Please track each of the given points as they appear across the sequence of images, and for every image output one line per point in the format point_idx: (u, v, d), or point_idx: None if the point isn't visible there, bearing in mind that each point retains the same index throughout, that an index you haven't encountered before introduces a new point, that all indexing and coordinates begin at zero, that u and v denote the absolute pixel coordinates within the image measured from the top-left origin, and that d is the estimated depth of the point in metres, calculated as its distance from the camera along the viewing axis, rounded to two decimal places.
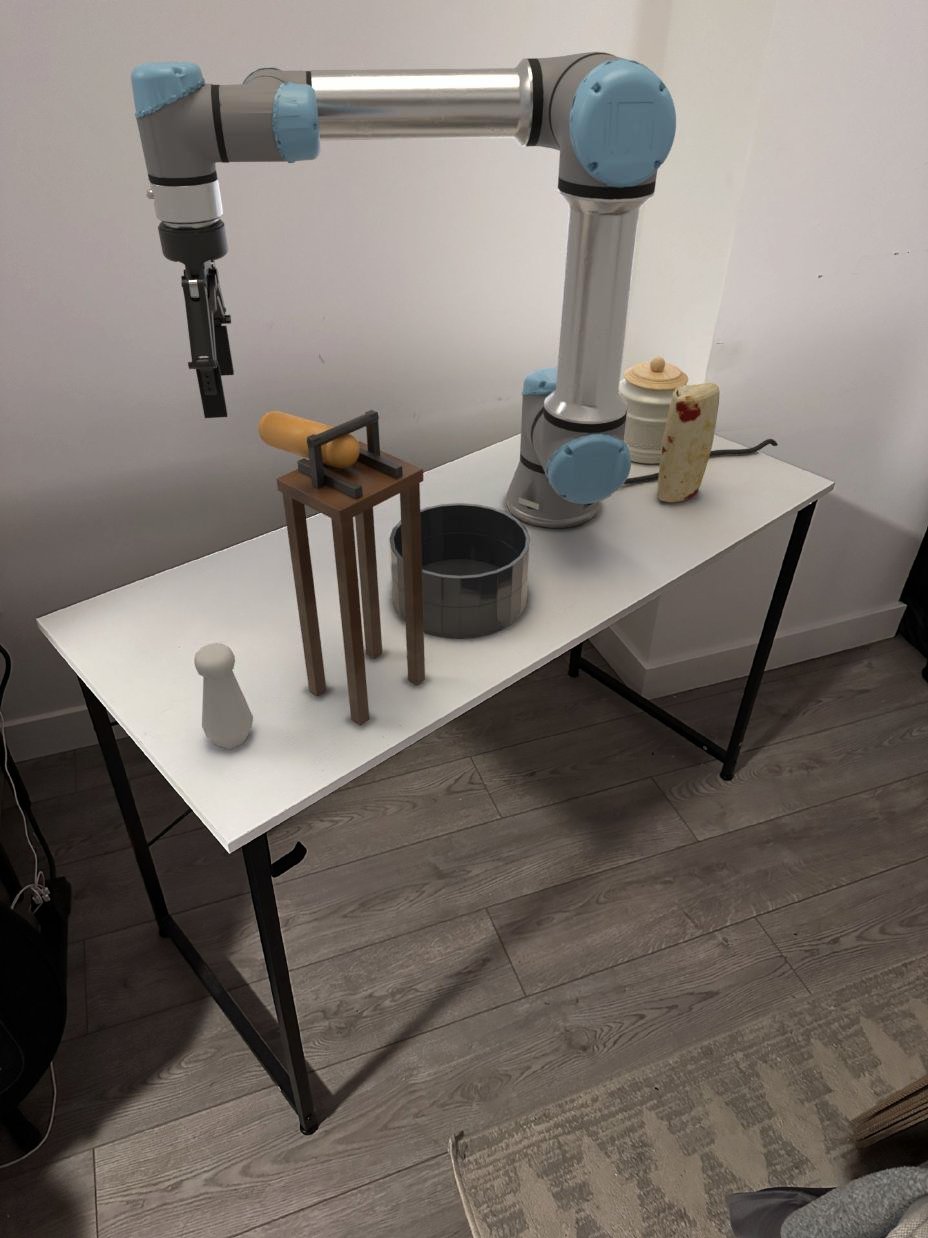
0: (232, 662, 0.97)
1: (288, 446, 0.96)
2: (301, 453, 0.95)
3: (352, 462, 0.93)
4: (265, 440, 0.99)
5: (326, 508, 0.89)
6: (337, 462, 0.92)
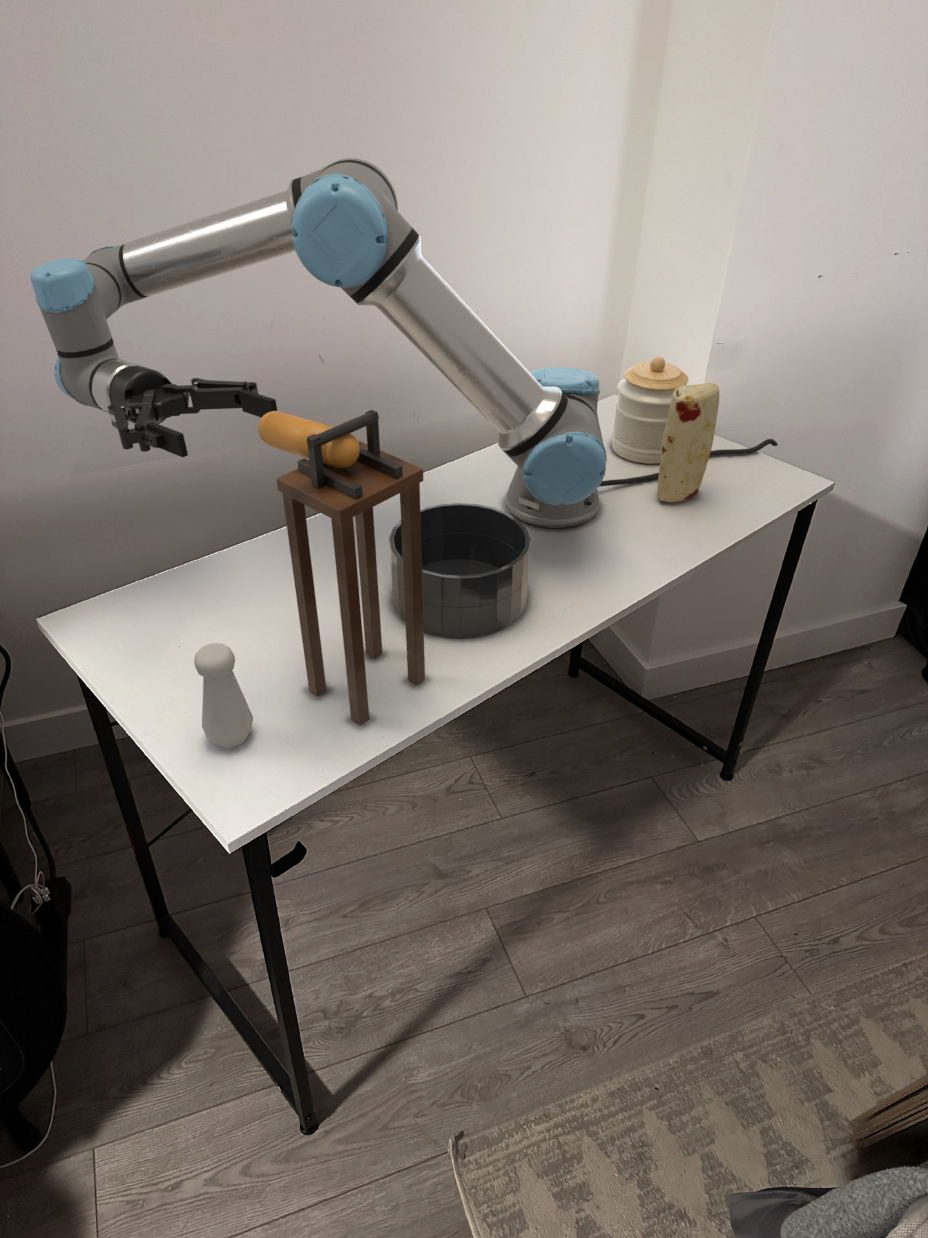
0: (232, 662, 0.97)
1: (288, 446, 0.96)
2: (301, 453, 0.95)
3: (352, 462, 0.93)
4: (265, 440, 0.99)
5: (326, 508, 0.89)
6: (337, 462, 0.92)
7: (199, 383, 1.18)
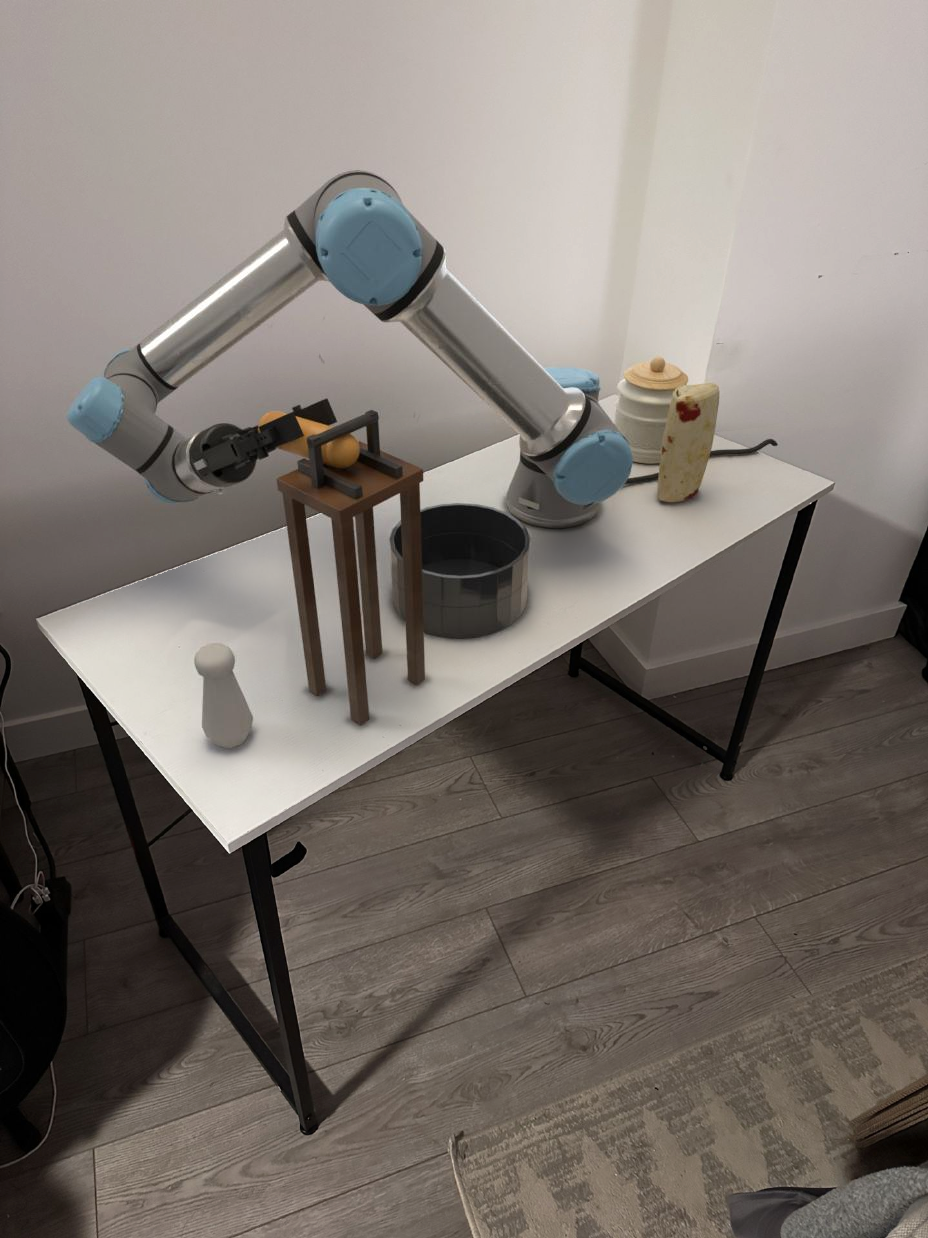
0: (232, 662, 0.97)
1: (288, 446, 0.96)
2: (301, 453, 0.95)
3: (352, 462, 0.93)
4: None
5: (326, 508, 0.89)
6: (337, 462, 0.92)
7: None
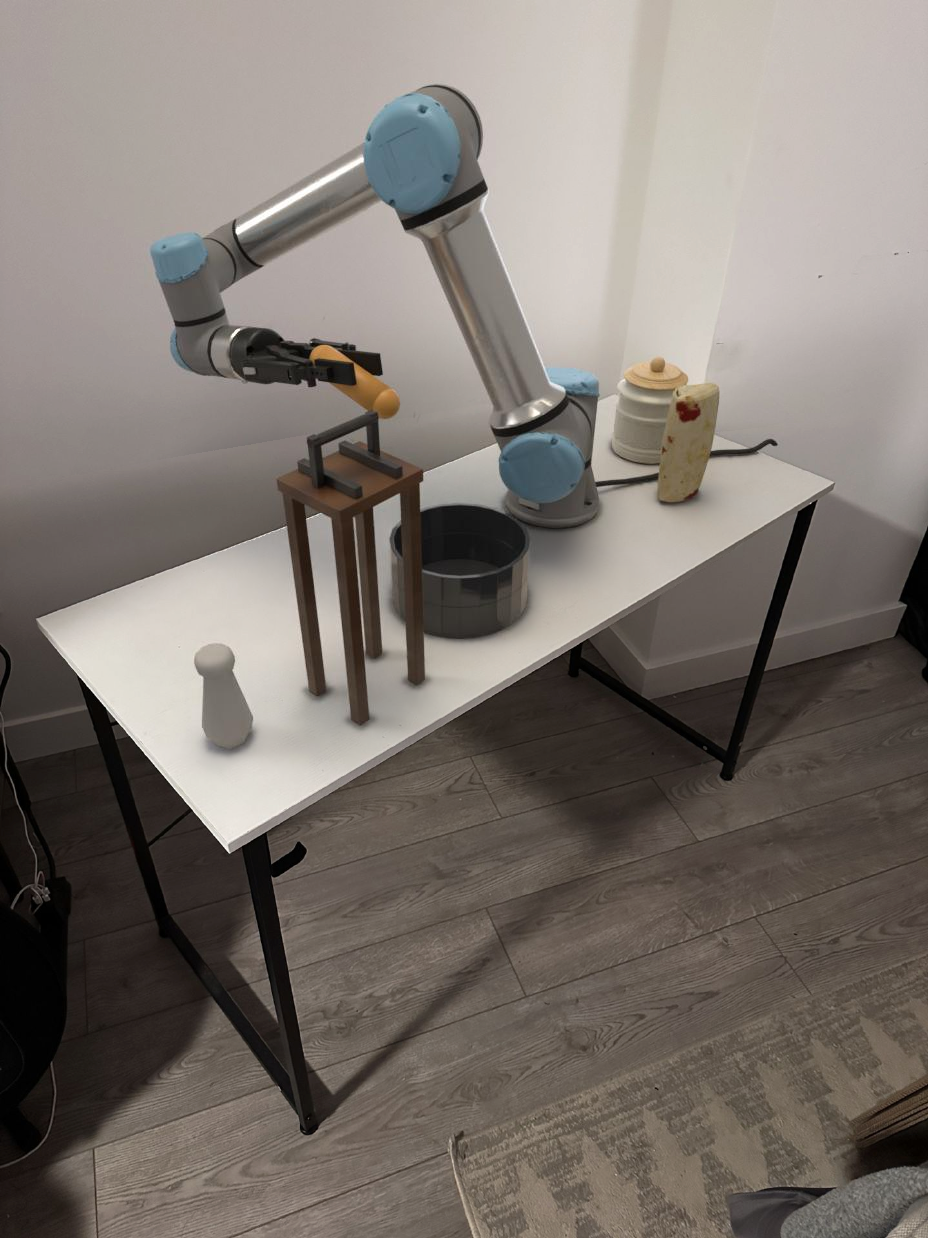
0: (232, 662, 0.97)
1: (336, 384, 1.13)
2: (347, 394, 1.13)
3: (391, 417, 1.12)
4: None
5: (326, 508, 0.89)
6: (380, 415, 1.11)
7: (313, 342, 1.23)
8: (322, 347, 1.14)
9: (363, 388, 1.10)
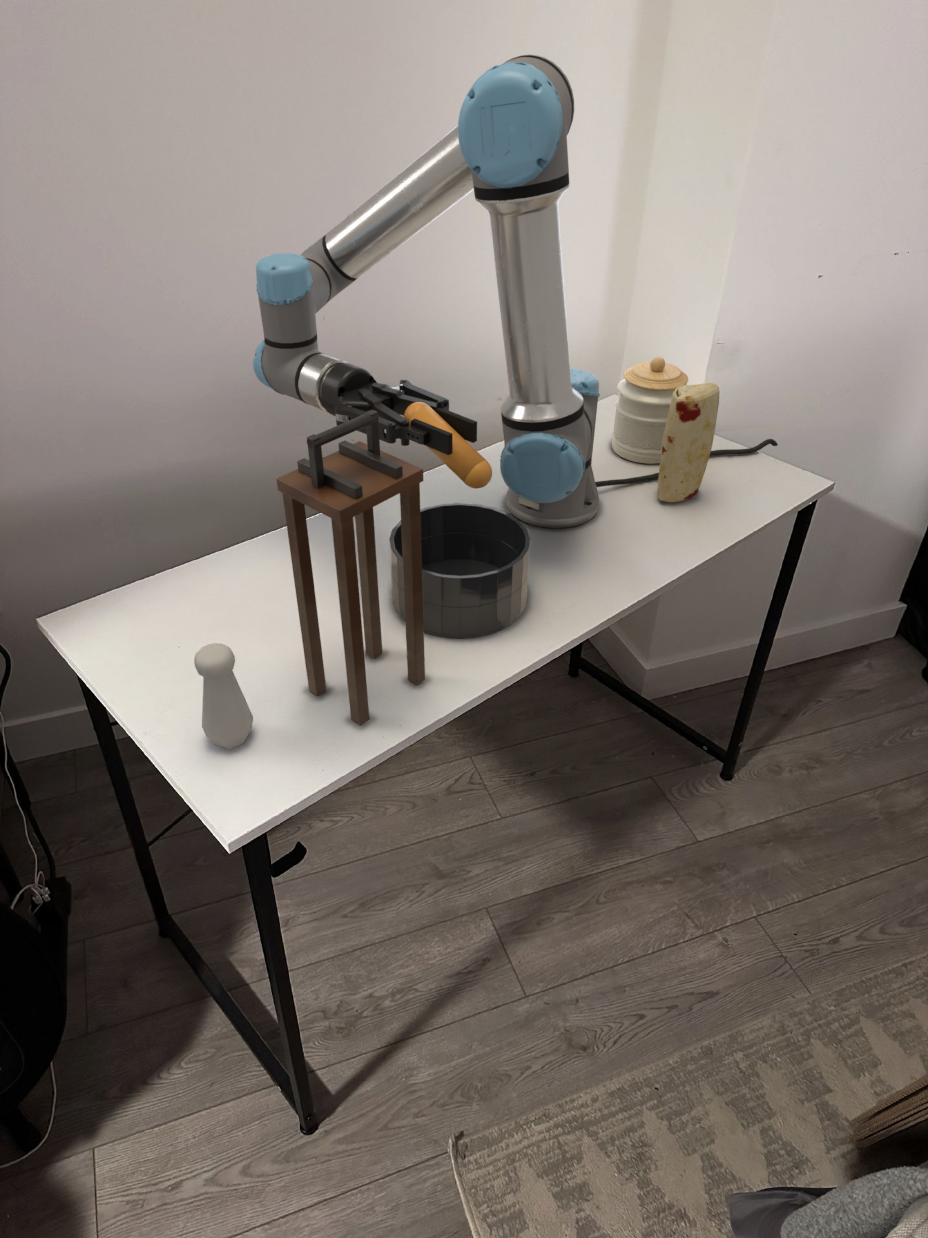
0: (232, 662, 0.97)
1: None
2: (440, 458, 1.14)
3: None
4: None
5: (326, 508, 0.89)
6: (472, 486, 1.12)
7: (404, 386, 1.22)
8: (419, 406, 1.14)
9: (458, 458, 1.12)
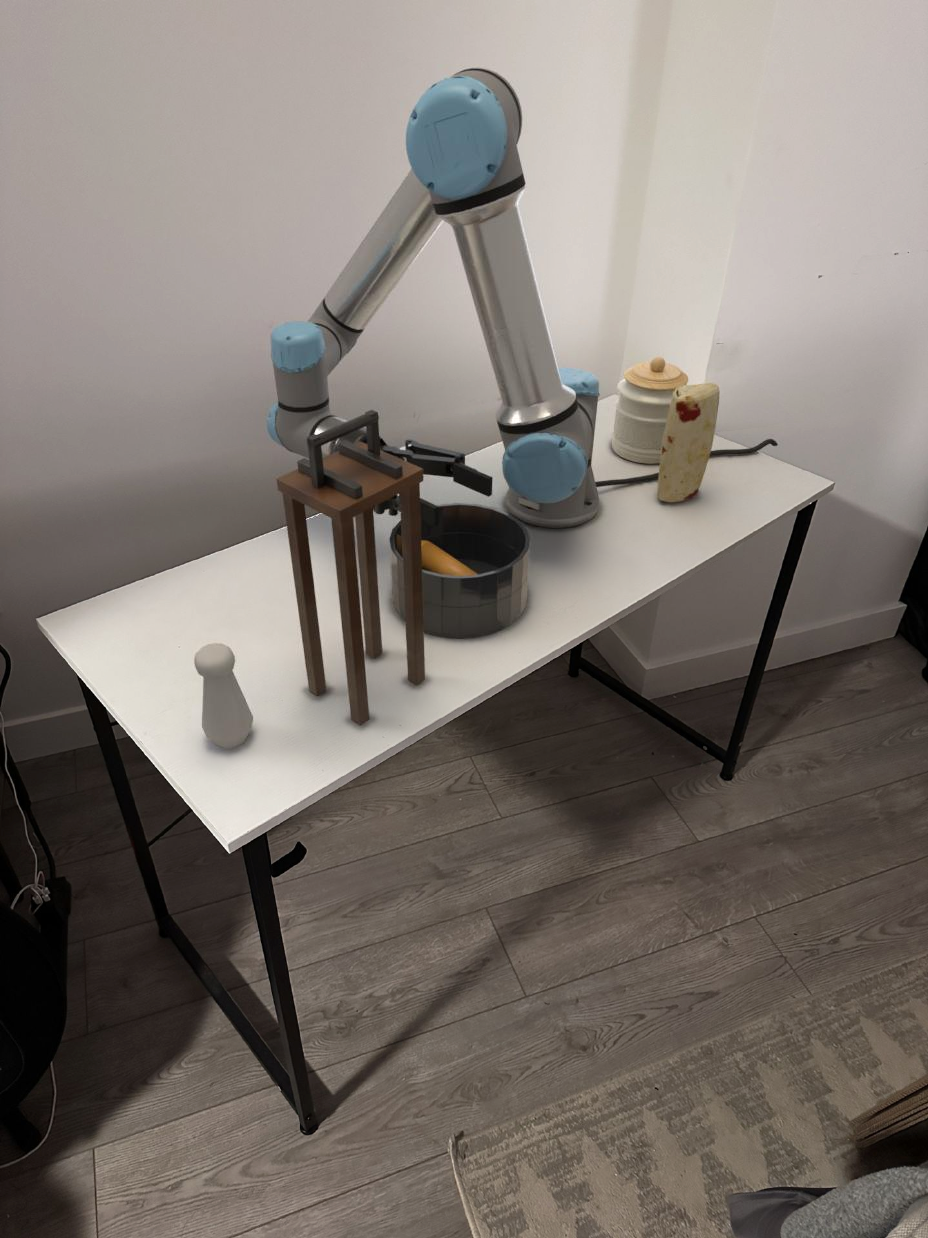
0: (232, 662, 0.97)
1: None
2: None
3: None
4: None
5: (326, 508, 0.89)
6: None
7: (412, 446, 1.28)
8: (421, 544, 1.27)
9: None
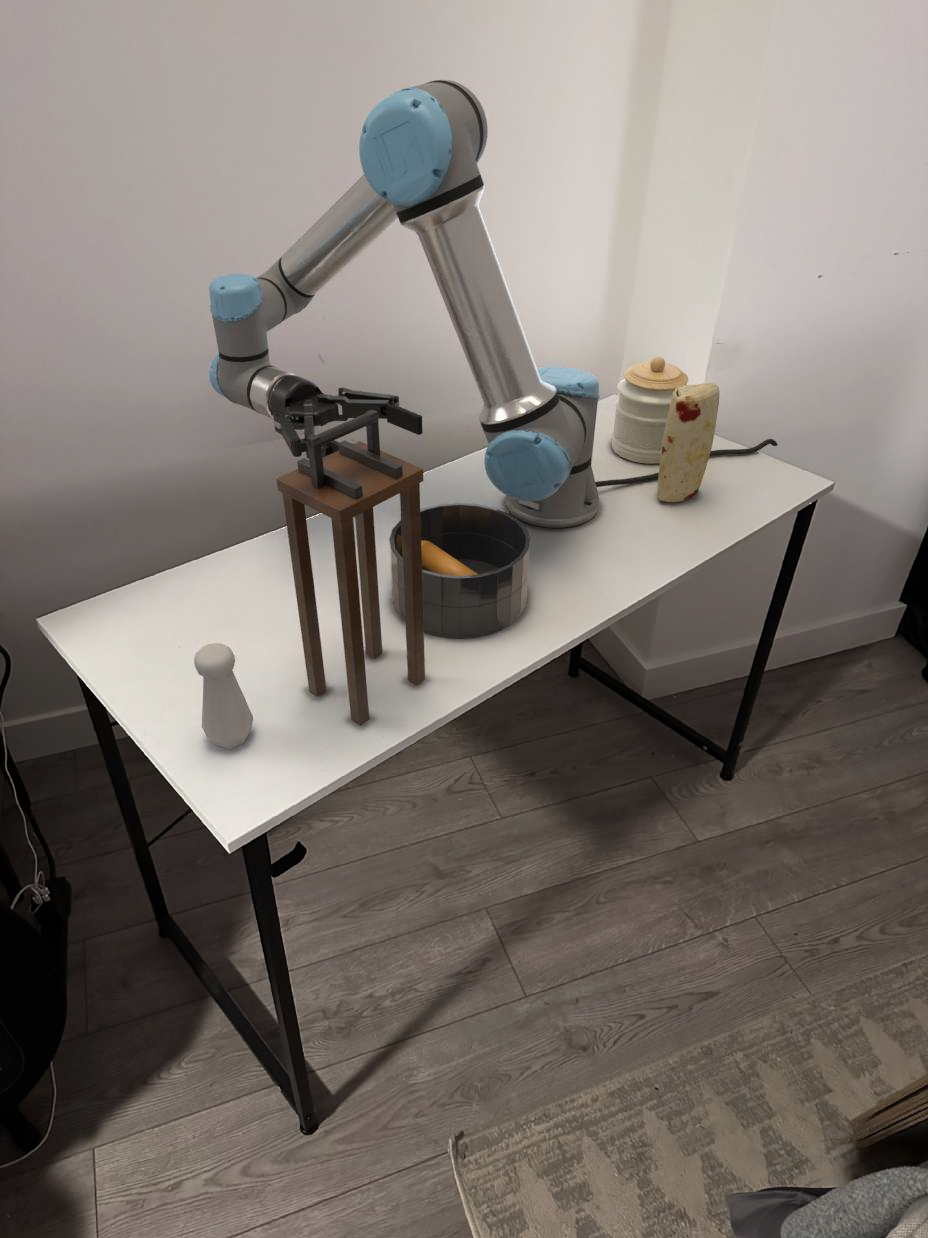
0: (232, 662, 0.97)
1: None
2: None
3: None
4: None
5: (326, 508, 0.89)
6: None
7: (346, 393, 1.33)
8: (421, 544, 1.27)
9: None
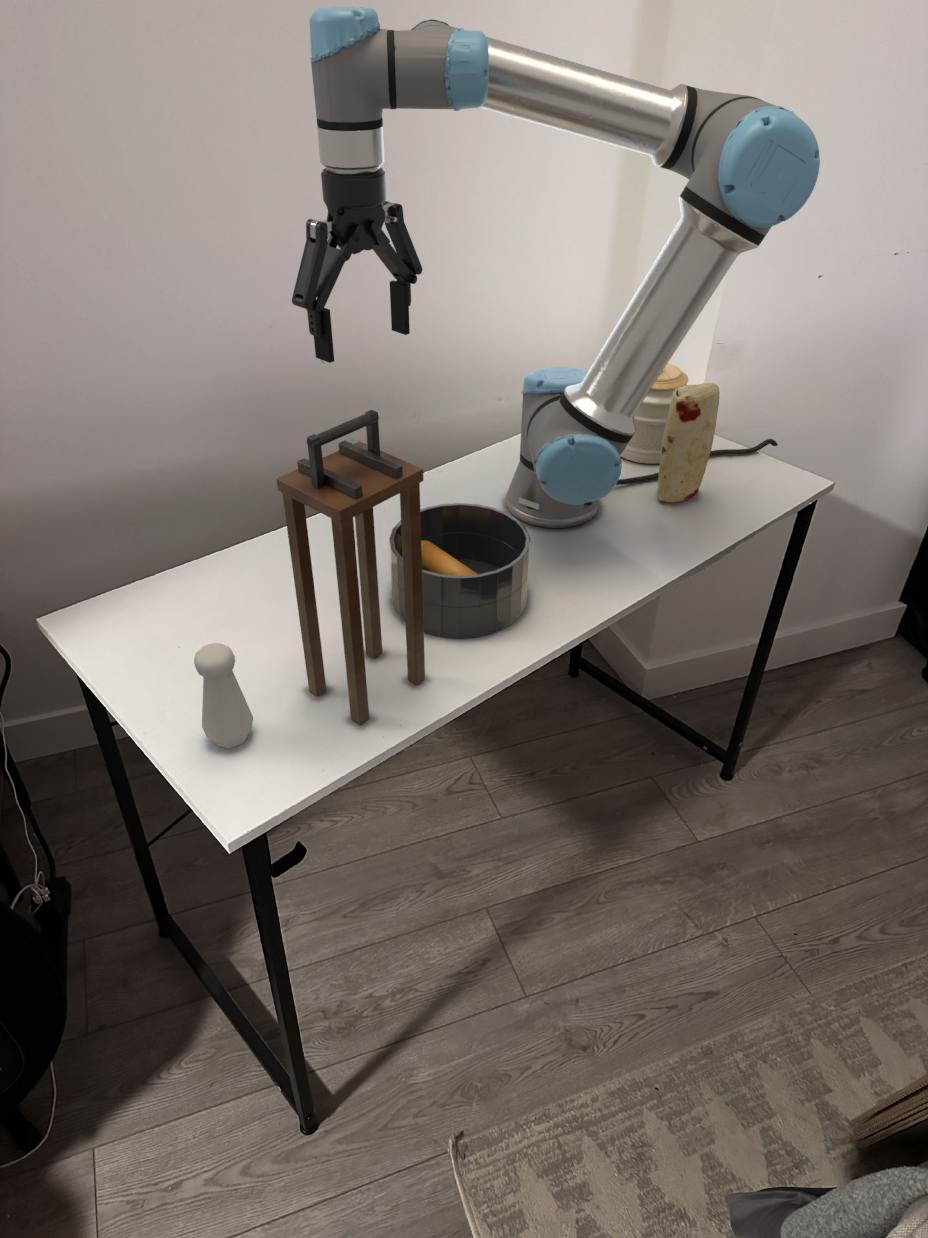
0: (232, 662, 0.97)
1: None
2: None
3: None
4: None
5: (326, 508, 0.89)
6: None
7: (396, 221, 1.11)
8: (421, 544, 1.27)
9: None
